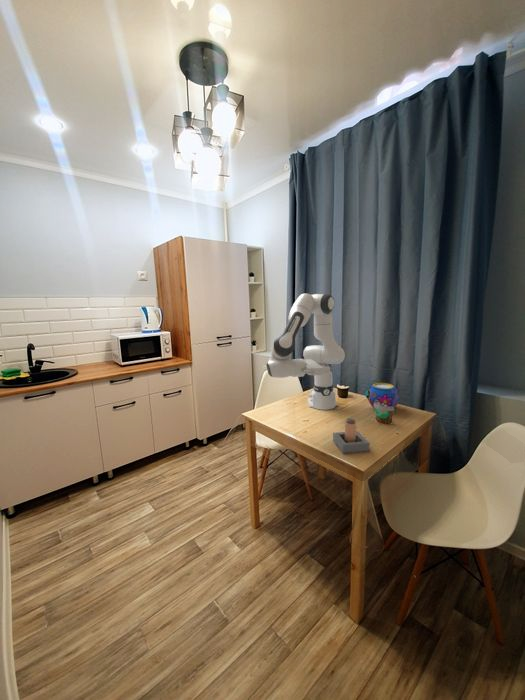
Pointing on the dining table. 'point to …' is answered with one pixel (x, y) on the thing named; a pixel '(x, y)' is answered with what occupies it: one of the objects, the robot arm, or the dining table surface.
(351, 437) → the spice jar
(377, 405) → the food container
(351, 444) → the holder
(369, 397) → the ceramic pot
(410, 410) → the dining table surface
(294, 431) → the dining table surface
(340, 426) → the dining table surface
